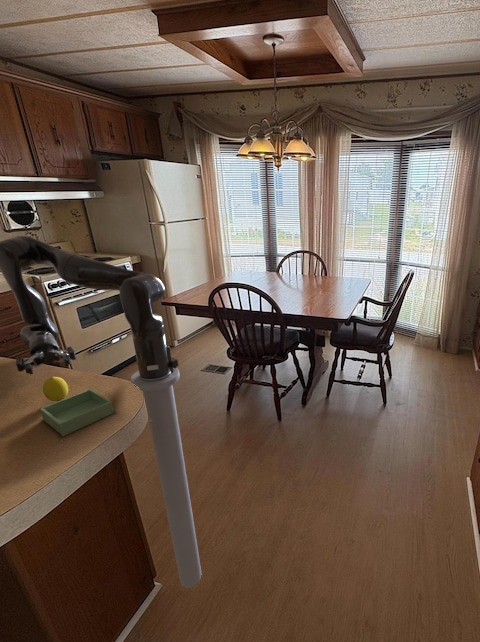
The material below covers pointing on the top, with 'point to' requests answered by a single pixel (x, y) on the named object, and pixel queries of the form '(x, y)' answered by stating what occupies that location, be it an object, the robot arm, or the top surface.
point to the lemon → (55, 389)
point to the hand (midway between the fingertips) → (49, 367)
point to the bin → (76, 411)
